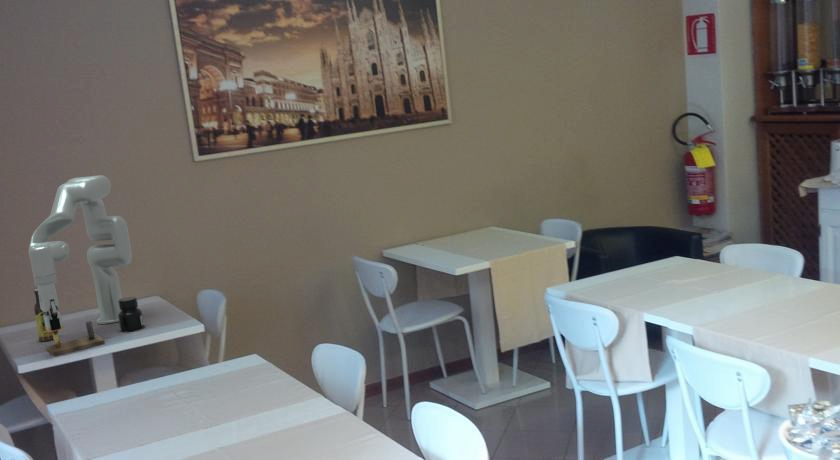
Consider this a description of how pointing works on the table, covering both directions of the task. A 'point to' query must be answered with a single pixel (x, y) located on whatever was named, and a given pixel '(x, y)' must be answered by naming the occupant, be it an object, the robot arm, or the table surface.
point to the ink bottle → (130, 315)
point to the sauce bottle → (41, 321)
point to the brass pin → (56, 339)
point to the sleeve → (47, 322)
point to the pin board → (77, 343)
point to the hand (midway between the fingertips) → (54, 328)
